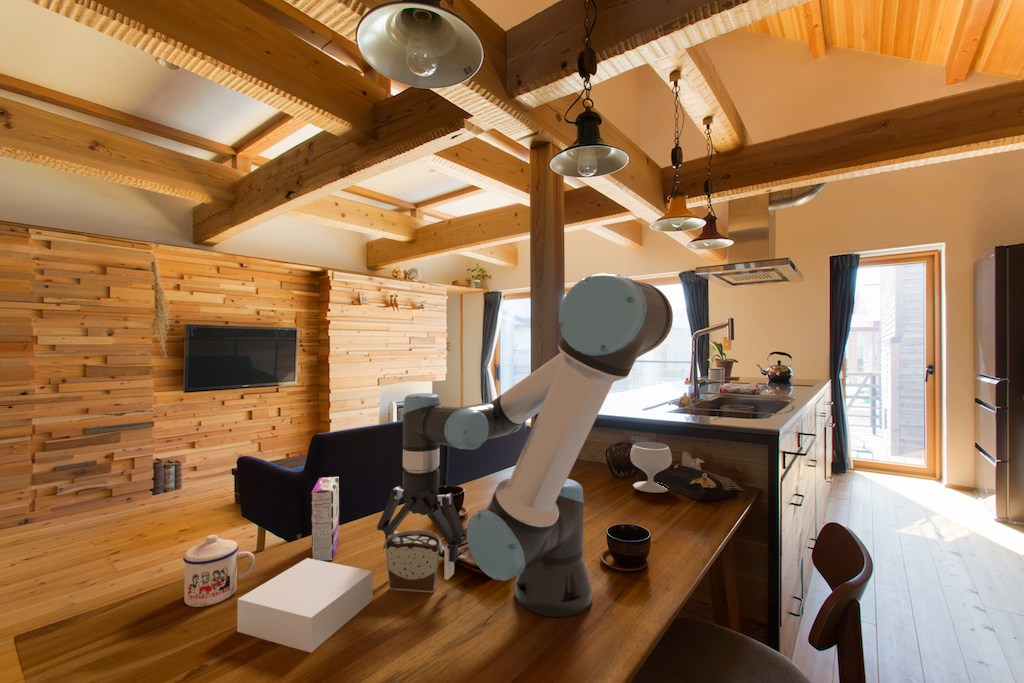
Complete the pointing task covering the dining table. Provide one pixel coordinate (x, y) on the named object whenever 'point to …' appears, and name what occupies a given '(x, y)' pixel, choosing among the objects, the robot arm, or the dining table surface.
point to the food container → (413, 560)
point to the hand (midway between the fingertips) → (420, 570)
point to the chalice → (650, 463)
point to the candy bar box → (325, 518)
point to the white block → (305, 603)
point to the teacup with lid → (212, 571)
